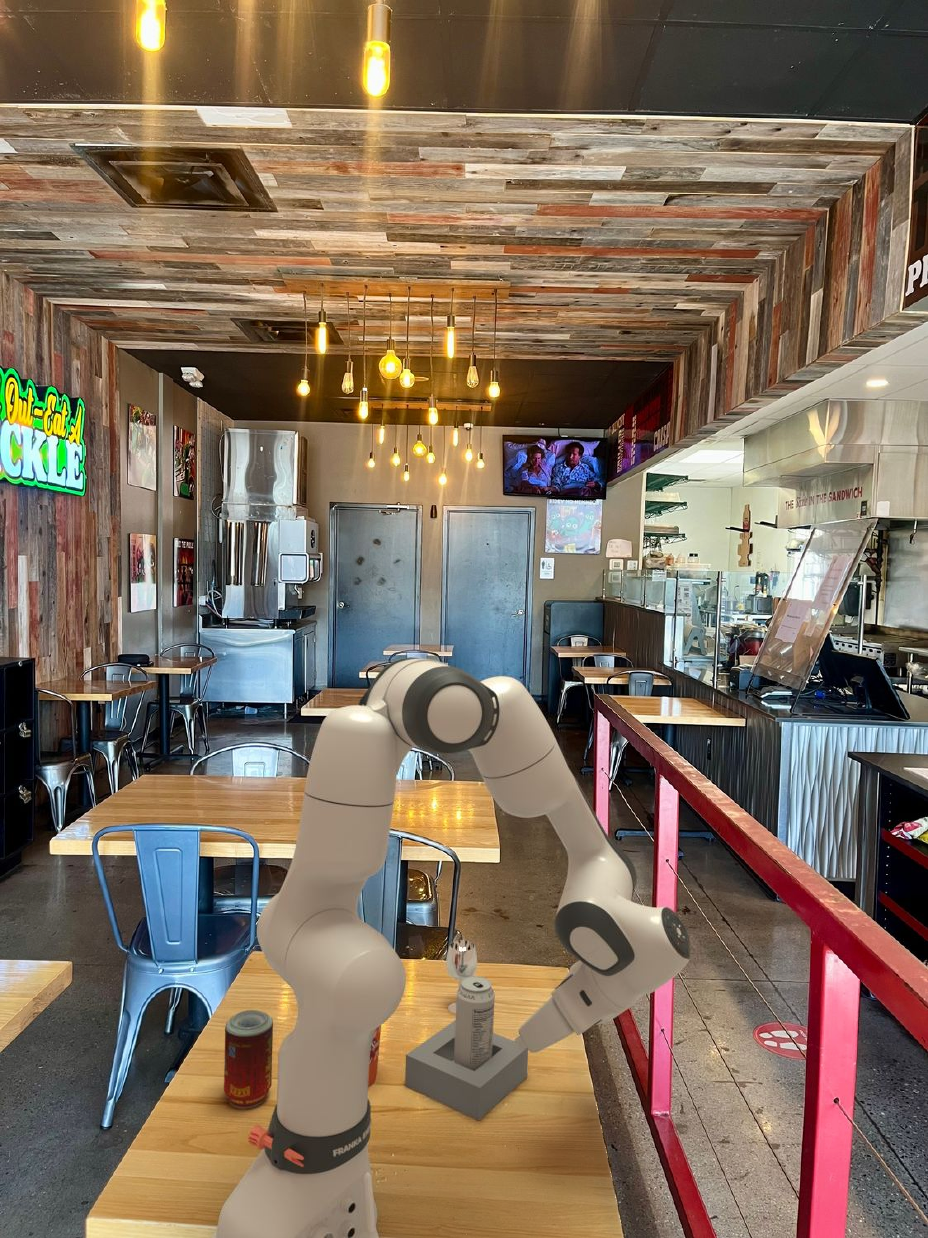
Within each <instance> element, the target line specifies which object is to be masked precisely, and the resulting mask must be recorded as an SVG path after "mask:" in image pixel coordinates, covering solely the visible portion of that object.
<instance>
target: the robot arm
mask: <svg viewBox="0 0 928 1238" xmlns="http://www.w3.org/2000/svg"><path fill="white" fill-rule="evenodd" d="M314 742H315V743H314V746H313V749H312V753H311V757H310V760H309V765H308V769H307V774H306V779H305V780H306V781H305V785H304V786H305V787H304V792H303V799H302V804H301V805H302V806H301V811H300V819H299V824H298V831H297V838H296V844H295V848H294V851H293V852H294V853H293V856H292V859H291V863H290V865H289V868H288V871H287V874H286V876H285V878H284V881H283V883H282V885H281V888H280V890H279V892H278V893H277V894H275V895H274V896H272V898H271V899H269V901H268V902H266V904H265V905H264V907H263V909H262V911H261V912H260V914H259V917H258V921H257V924H256V936H257V941H258V944H259V946H260V950H261V951H262V954H263V955H264V958H265V959H266V962H267V963H268V965H269V967H270V969H272V970H273V971H274V973H275V974H276V975H278V976H279V977H280V978H281V979H282V980H283V981H284V982H285V983H286V984H287V985H288V986H289V987H290V989H291V990H292V991H293V993H294V996H295V999H296V1004H297V1016H296V1022H295V1025H294V1028H293V1030H291V1032H288V1034H286V1036H285V1037H284V1039H283V1040H282V1042H281V1044H280V1047H279V1048H278V1049H279V1050H278V1053H277V1054H278V1055H277V1057H278V1058H277V1089H276V1095H277V1096H276V1104H275V1105H274V1109H273V1113H272V1115H271V1119H270V1122H269V1125H268V1127H267V1128H268V1129H267V1130H265V1129H264V1128H263V1127H262V1126H261V1125H255V1126H253V1127H252V1128H251V1130H250V1132H249V1133H248V1137H247V1140H248V1143H249V1144H250V1145H251V1146H256V1147H257V1149H259V1150H261V1151H260V1152H259V1154H258V1155H257V1156H256V1158H255V1159H254V1161H253V1162H252V1164H251V1165H250V1167H249V1168H248V1170H247V1171H246V1172H245V1173H244V1175H243V1177H242V1178H241V1179H240V1181H239V1182H238V1183H237V1185H236V1187H235V1188H234V1190H232V1192H231V1194H230V1195H229V1197H228V1198H227V1199H226V1200H225V1202H224V1203H223V1205H222V1207H221V1209H220V1213H219V1217H218V1222H217V1227H216V1231H215V1232H214V1233H213V1234H212V1235H211V1236H210V1237H209V1238H380V1236H379V1232H378V1230H377V1223H378V1207H377V1203H376V1201H375V1197H374V1190H373V1177H372V1169H371V1162H370V1156H369V1154H370V1153H369V1146H368V1145H369V1140H370V1138H371V1129H372V1121H373V1120H372V1117H371V1115H372V1114H371V1112H372V1111H371V1110H372V1109H371V1108H372V1107H371V1103H370V1102H371V1101H370V1100H369V1087H368V1078H369V1059H370V1049H371V1044H372V1040H373V1036H374V1033H375V1030H376V1028H377V1027H379V1026H380V1025H381V1026H382V1025H383V1024H384V1023H385V1022H387V1021H388V1020H389V1019H390V1018H391V1017H392V1016H393V1014H395V1012H396V1010H397V1009H398V1007H399V1005H400V1003H401V1002H402V1000H403V996H404V994H405V989H406V983H407V982H406V981H407V980H406V978H407V976H406V969H405V967H404V963H403V961H402V959H401V958H400V957H399V955H398V953H397V952H396V951H395V949H394V948H393V946H392V945H391V944H390V943H389V941H388V940H387V939H386V937H385V936H384V935H383V934H382V933H381V932H379V931H378V930H376V929H375V928H374V927H372V926H370V925H369V924H368V923H366V922H364V920H362V919H360V918H359V915H358V914H359V913H358V903H359V899H360V897H361V893H362V891H363V889H364V887H365V885H366V883H367V882H368V879H369V878H371V877H372V876H374V875H376V874H378V872H379V871H381V870H382V868H383V866H384V865H385V863H386V859H387V853H388V846H389V840H390V839H389V838H390V833H391V824H392V819H393V818H392V817H393V811H394V805H395V804H394V803H395V795H396V788H397V787H396V786H397V776H398V775H399V773H400V772H399V771H400V768H401V767H402V763H403V762H404V759H405V758H406V756H407V755H408V753H409V752H410V751H411V750H412V749H413V747H414V748H417V749H421V750H422V751H424V752H427V753H429V754H433V755H438V756H439V755H442V756H443V755H444V756H445V755H446V756H447V755H453V754H459V753H462V752H464V751H467V750H468V751H469V752H470V754H471V755H472V757H473V760H474V763H475V765H476V767H477V769H478V773H480V776H481V778H482V780H483V782H484V785H485V786H486V788H487V790H488V792H489V794H490V795H491V797H492V798H493V800H494V801H495V802H496V804H497V805H498V807H499V808H500V809H501V810H502V812H505V813H507V814H508V815H511V816H514V817H518V818H522V819H524V818H526V819H528V818H536V817H541V816H544V815H545V816H546V817H547V818H548V820H549V822H550V823H551V825H552V827H553V829H554V830H555V832H556V834H557V836H558V837H559V839H560V841H561V843H562V844H563V847H564V848H565V850H566V853H567V858H568V865H567V866H568V867H567V875H566V881H565V883H564V884H565V885H564V887H563V891H562V895H561V896H560V900H559V903H558V907H557V911H556V915H555V918H554V931H555V935H556V936H557V939H558V941H559V942H560V944H561V945H562V947H563V948H564V949H565V950H567V952H569V953H570V954H571V955H572V956H573V957H574V958H576V959H577V960H578V961H576V962H575V963H573V964H572V965H571V967H570V968H569V970H568V972H567V973H566V975H565V977H564V979H563V980H562V981H561V982H560V983H559V984H558V985H557V986H556V987H555V988H554V990H553V991H552V992H551V997H550V998H549V999H548V1000H547V1001H546V1002H544V1003H543V1004H542V1005H541V1007H539V1008H538V1009H537V1010H536V1011H535V1012H534V1013H533V1014H532V1015H531V1016H530V1017H528V1018H527V1019H526V1021H525V1022H524V1023H522V1025H521V1026H520V1027H519V1029H518V1036H517V1037H516V1038H514V1041H515V1043H516V1045H517V1046H518V1048H519V1049H520V1050H524V1049H525V1048H528V1052H530V1053H538V1052H541V1051H543V1050H545V1049H546V1048H549V1047H551V1046H552V1045H554V1044H557V1043H558V1042H560V1041H562V1040H564V1039H565V1038H568V1037H570V1036H572V1035H573V1034H575V1035H577V1036H581V1034H583V1033H585V1032H587V1031H588V1030H590V1029H591V1028H593V1027H595V1026H598V1025H602V1024H605V1023H606V1024H607V1023H609V1022H611V1021H612V1020H613V1019H615V1018H616V1017H618V1016H619V1015H621V1014H622V1013H623V1012H625V1011H627V1010H628V1009H630V1008H631V1007H632V1006H634V1005H635V1004H636V1003H637V1002H638V1000H639V999H640V998H641V997H643V996H644V995H648V994H652V993H654V992H656V991H657V990H658V989H660V988H661V987H663V986H665V984H667V983H669V981H671V980H672V979H673V978H675V977H677V975H678V974H679V973H680V972H681V971H682V970H683V969H684V968H685V967H686V966H687V964H688V963H689V961H690V958H691V949H692V947H691V940H690V939H691V938H690V936H689V933H688V930H687V927H686V926H685V924H684V922H683V920H682V919H681V918H680V916H679V915H678V914H677V913H676V912H675V910H673V909H671V908H670V907H668V906H660V907H659V906H658V907H653V906H647V905H642V904H639V903H637V902H633V900H632V899H633V896H634V894H635V893H634V892H635V890H636V886H637V881H638V880H637V879H638V877H637V871H636V870H637V869H636V868H635V865H634V864H633V862H632V859H630V857H629V856H628V855H627V854H626V852H624V851H623V850H622V849H621V848H620V847H619V846H618V845H617V844H616V843H615V842H614V841H613V839H611V838H610V836H609V835H608V834H607V832H606V830H605V829H604V827H603V826H602V824H601V822H600V820H599V818H598V816H597V815H596V812H595V811H594V809H593V807H592V805H591V803H590V802H589V800H588V798H587V796H586V794H585V792H584V791H583V789H582V787H581V786H580V783H579V782H578V780H577V778H576V777H575V776H574V773H572V771H571V769H570V768H569V766H568V764H567V762H566V759H565V757H564V755H563V752H562V751H561V748H560V745H559V744H558V741H557V739H556V737H555V735H554V732H553V731H552V728H551V727H550V725H549V723H548V721H547V720H546V717H545V716H544V714H543V712H542V710H541V709H540V708H539V705H538V704H537V702H536V701H535V700H534V698H533V697H532V695H531V694H530V692H529V691H528V689H527V688H526V687H525V686H524V684H523V683H522V682H521V681H519V680H518V679H517V678H514V677H510V676H505V675H501V676H499V675H498V676H492V677H488V678H485V679H483V680H479V679H477V678H475V677H474V676H473V675H471V674H470V673H469V672H467V671H465V670H463V669H461V668H459V667H454V666H450V665H448V664H447V663H445V662H442V661H440V660H436V659H431V658H419V657H413V656H412V657H404V658H403V657H402V658H399V659H397V660H394V661H392V662H389V663H388V664H387V665H386V666H383V668H382V669H381V670H380V671H379V673H378V674H377V675H376V676H375V678H374V679H373V681H372V683H371V685H370V686H369V687H368V689H367V690H366V691H365V693H363V696H362V697H361V698H360V699H359V702H358V704H356V705H353V704H351V705H347V706H342V707H339V708H337V709H334V710H333V711H330V713H328V714H327V715H326V717H325V718H324V719H323V720H322V723H321V725H320V728H319V730H318V733H317V736H316V739H315V741H314Z"/></svg>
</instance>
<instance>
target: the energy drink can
mask: <svg viewBox="0 0 928 1238" xmlns="http://www.w3.org/2000/svg"><path fill="white" fill-rule="evenodd" d="M495 994H496V993H495V991H494V989H493V987H492V982H491V981H490V979H488V978H487V977H483V976H479V975H473V976H470V977H466V978H464V979H463V980H462V981H461V986H460V987H458V988H457V990H456V1014H455V1020H456V1023H455V1046H454V1063H457V1064H459V1065H461V1066H464V1067H466V1068H468V1069H470V1070H473V1071H476V1070H477V1069H478V1068H479V1067H481V1066H482V1065H483V1064H484V1063H485V1062H487V1061H488V1060H489V1059H490V1058H492V1045H493V1033H494V1021H495V1020H494V1018H495V1017H494V1016H495V999H496V998H495V997H496V995H495Z"/></svg>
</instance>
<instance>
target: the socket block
mask: <svg viewBox="0 0 928 1238" xmlns="http://www.w3.org/2000/svg"><path fill="white" fill-rule="evenodd" d="M455 1023H456V1019H455V1020H453V1021H452V1022H450V1023H449V1024H447V1025H446V1026H445V1027H443V1028H442V1029H441V1030H439V1031H438V1032H436V1033H435V1034H433V1035H432V1036H430V1037H429V1038H428V1039H426V1040H425V1041H423V1042H421V1043H420V1044H419V1045H418V1046H416V1047H415V1048H414V1049H412V1050H411V1051H409V1052H407V1053H406V1054H405V1068H404V1069H405V1072H404V1074H405V1075H404V1086H405V1087H407V1088H409V1089H411V1090H413V1091H415V1092H417V1093H419V1094H421V1095H423V1096H426V1097H428V1098H430V1099H431V1100H434V1101H436V1102H439V1103H440V1104H442V1105H444V1106H447V1107H449V1108H451V1109H453V1110H455V1111H456V1112H459V1113H461V1114H463V1115H465V1116H468V1117H469V1118H472V1119H474V1120H476V1121H481V1119H483V1118H484V1117H485V1116H486V1115H487V1114H488V1113H490V1111H492V1110H493V1108H494V1107H495V1108H496V1106H497V1105H498V1104H499V1103H500V1102H502V1101H503V1099H505V1098H506V1097H507V1096H508V1095H509V1094H510V1093H511V1092H512V1091H514V1089H516V1088H517V1087H518V1086H519V1085H520V1084H521V1083H523V1081H524V1080H526V1079H527V1078H528V1065H529V1064H528V1062H529V1061H528V1060H529V1050H528V1048H525V1049H524V1050H520V1049H519V1048H518V1046H517V1045H516V1043H515V1040H513V1039H510V1038H507V1037H504V1036H502V1035H500V1034H498V1033H495V1032H493V1045H492V1058H490V1059H489V1060H488V1061H487V1062H485V1063H484V1064H483V1065H482V1066H481V1067H479V1068H478V1069H477V1070H476V1071H473V1070H470V1069H468V1068H466V1067H464V1066H461V1065H459V1064H457V1063H454V1046H455Z"/></svg>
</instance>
